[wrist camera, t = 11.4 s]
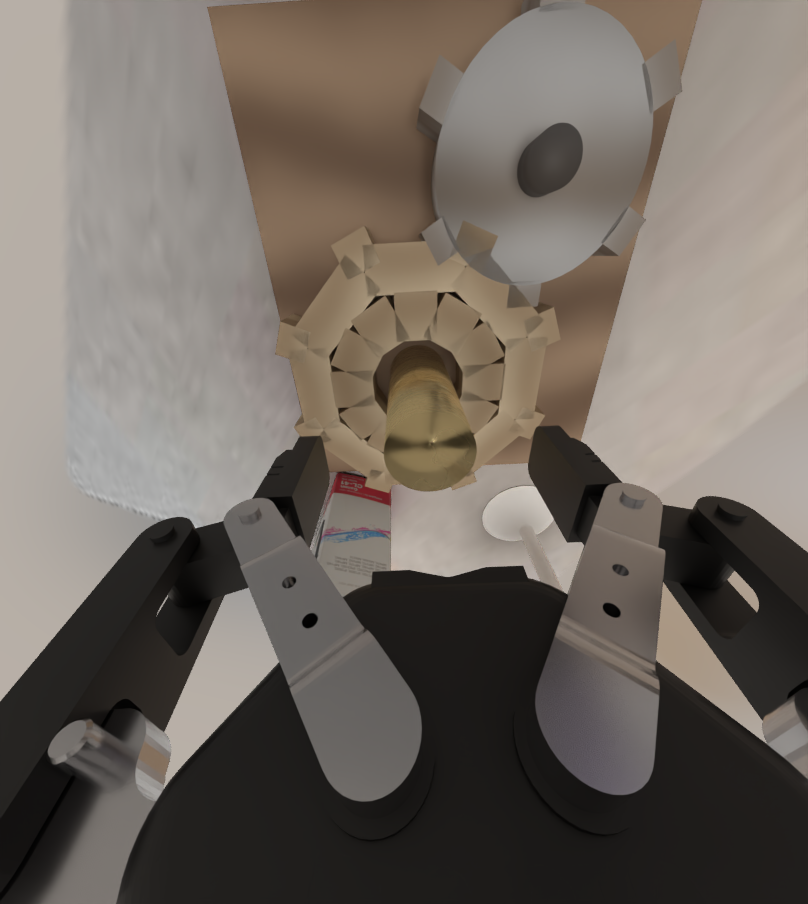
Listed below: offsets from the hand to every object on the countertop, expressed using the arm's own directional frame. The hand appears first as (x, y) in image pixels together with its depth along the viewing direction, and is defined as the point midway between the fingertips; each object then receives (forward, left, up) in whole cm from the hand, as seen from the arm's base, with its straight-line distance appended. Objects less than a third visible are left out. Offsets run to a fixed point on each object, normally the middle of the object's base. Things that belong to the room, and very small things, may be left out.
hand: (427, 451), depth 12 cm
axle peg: (0, 0, -10) cm, 10 cm away
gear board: (-4, +2, -11) cm, 12 cm away
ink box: (+13, -6, -12) cm, 18 cm away
